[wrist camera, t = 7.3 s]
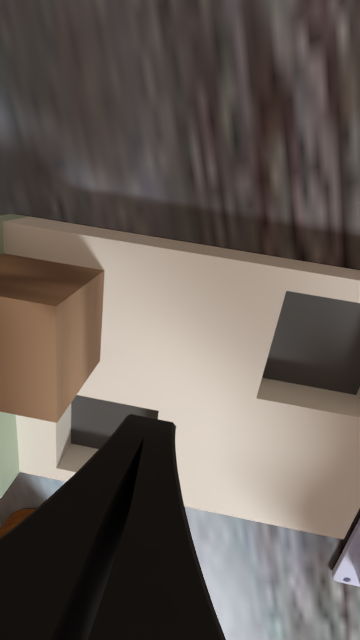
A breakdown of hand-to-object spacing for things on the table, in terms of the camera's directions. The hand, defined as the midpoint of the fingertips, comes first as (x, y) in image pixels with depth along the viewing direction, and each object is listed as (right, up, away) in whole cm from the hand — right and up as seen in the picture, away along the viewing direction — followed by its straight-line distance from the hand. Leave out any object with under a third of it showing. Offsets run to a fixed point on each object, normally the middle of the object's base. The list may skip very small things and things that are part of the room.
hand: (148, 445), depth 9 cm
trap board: (+2, 0, +11) cm, 11 cm away
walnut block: (-5, +4, +7) cm, 10 cm away
